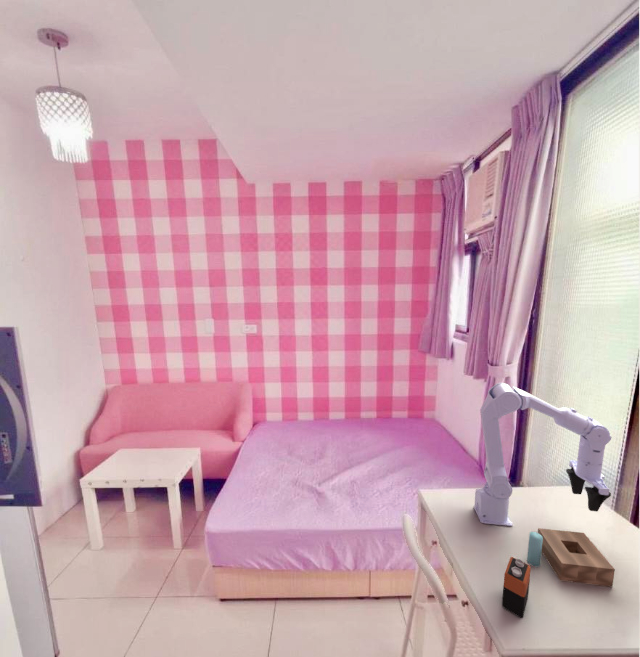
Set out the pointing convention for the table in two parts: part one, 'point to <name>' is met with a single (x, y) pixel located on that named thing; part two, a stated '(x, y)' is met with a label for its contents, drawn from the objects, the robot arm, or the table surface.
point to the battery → (516, 586)
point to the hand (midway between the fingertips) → (584, 501)
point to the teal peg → (534, 549)
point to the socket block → (576, 558)
